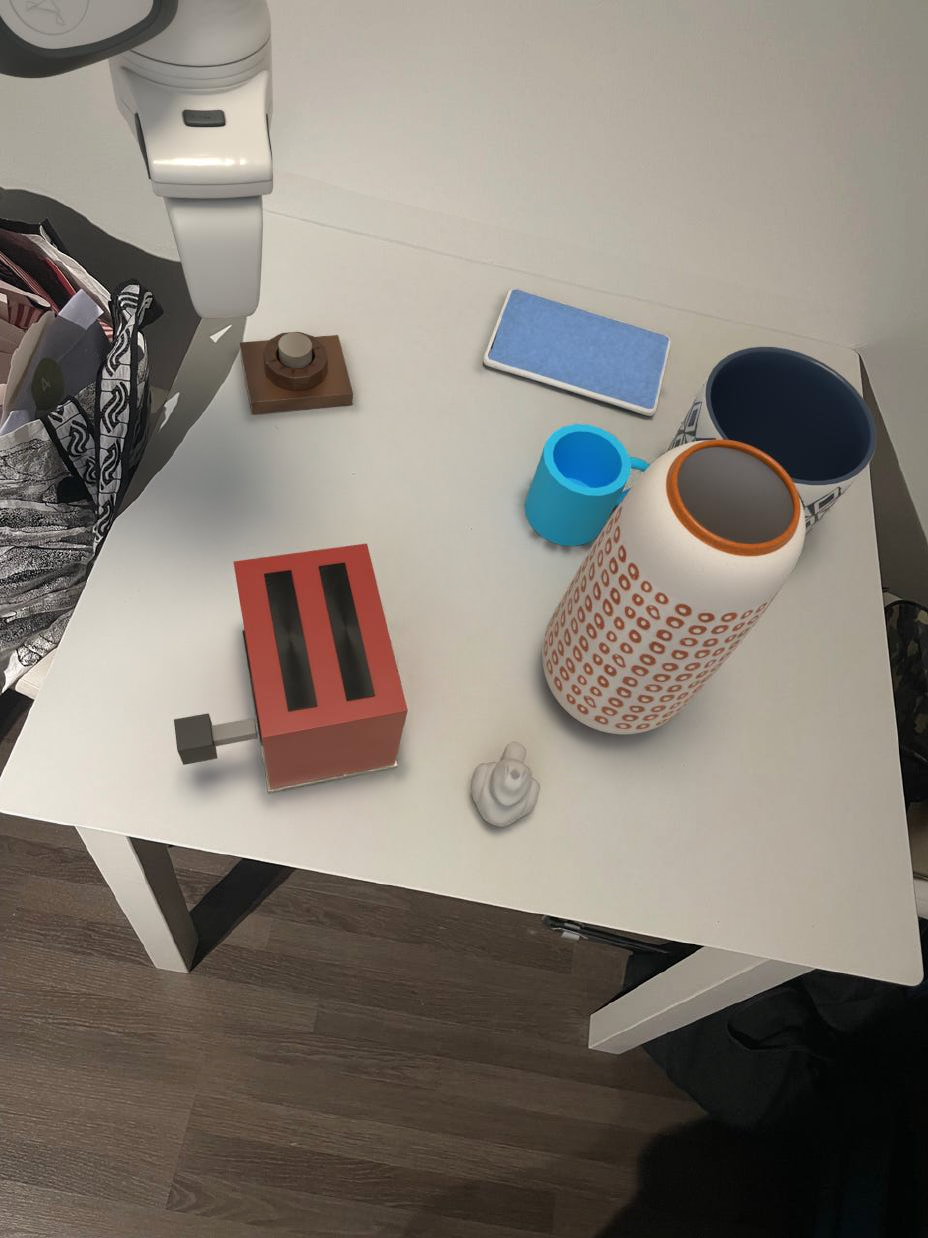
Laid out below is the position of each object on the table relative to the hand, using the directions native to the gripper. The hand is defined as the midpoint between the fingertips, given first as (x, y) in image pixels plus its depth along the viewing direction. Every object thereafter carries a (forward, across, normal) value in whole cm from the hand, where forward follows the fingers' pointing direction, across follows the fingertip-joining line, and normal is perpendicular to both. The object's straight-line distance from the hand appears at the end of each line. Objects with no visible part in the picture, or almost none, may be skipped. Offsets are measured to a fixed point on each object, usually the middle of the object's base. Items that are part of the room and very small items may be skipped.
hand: (213, 274), depth 61 cm
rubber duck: (+24, +34, +16) cm, 45 cm away
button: (+20, -12, +8) cm, 25 cm away
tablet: (+23, -11, +39) cm, 46 cm away
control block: (+23, -12, +8) cm, 27 cm away
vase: (+23, +27, +28) cm, 45 cm away
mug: (+23, +9, +33) cm, 41 cm away
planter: (+23, +11, +48) cm, 54 cm away
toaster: (+24, +23, +4) cm, 33 cm away
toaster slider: (+18, +28, -5) cm, 33 cm away
